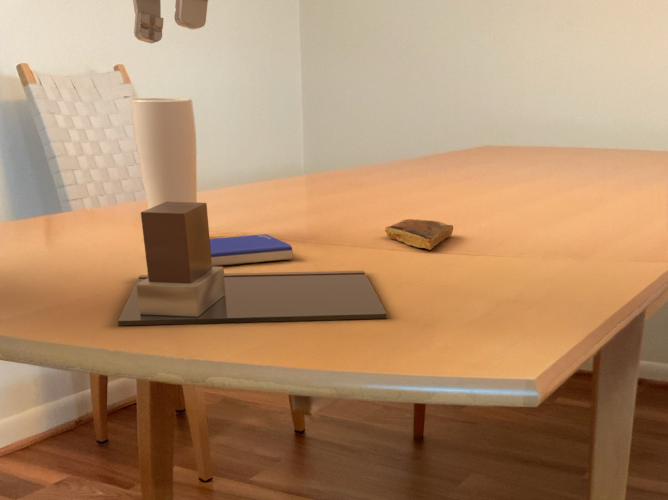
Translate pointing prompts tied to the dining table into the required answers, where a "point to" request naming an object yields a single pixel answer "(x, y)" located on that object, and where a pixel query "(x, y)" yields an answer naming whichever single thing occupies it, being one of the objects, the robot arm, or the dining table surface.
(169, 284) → the brown block with base
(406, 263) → the dining table surface
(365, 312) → the slate
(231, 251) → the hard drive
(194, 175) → the white cup
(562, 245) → the dining table surface
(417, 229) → the shard
